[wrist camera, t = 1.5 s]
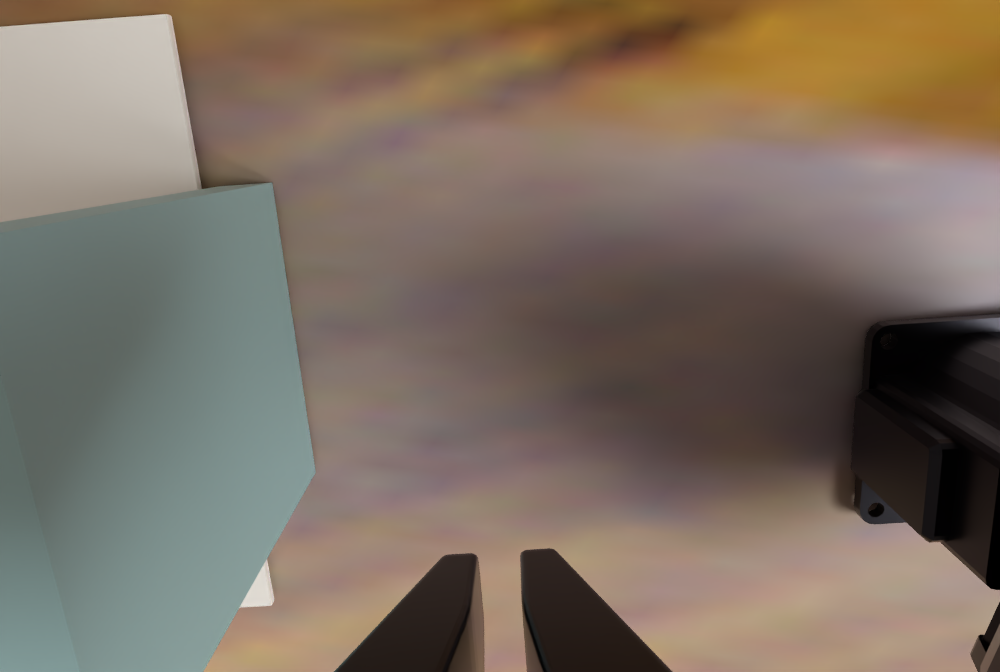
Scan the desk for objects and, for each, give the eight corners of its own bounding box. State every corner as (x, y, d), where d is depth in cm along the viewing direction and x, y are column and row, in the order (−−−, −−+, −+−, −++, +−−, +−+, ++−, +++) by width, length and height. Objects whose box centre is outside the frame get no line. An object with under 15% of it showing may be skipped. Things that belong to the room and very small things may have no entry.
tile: (272, 182, 20) (-35, 239, 9) (315, 472, 23) (119, 819, 11) (212, 186, 20) (-172, 249, 9) (262, 475, 23) (10, 825, 11)
